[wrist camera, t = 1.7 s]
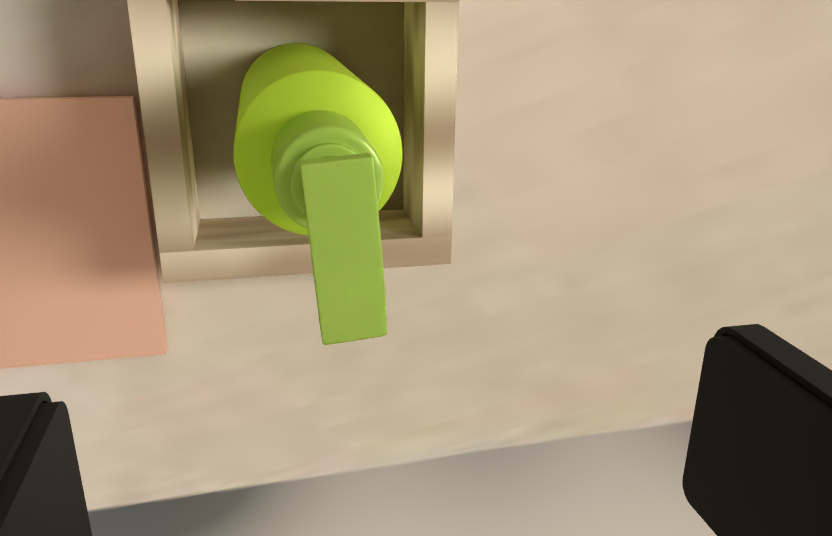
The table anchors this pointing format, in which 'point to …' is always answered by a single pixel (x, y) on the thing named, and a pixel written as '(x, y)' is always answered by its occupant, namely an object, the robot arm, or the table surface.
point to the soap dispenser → (322, 176)
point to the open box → (256, 236)
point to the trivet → (75, 234)
